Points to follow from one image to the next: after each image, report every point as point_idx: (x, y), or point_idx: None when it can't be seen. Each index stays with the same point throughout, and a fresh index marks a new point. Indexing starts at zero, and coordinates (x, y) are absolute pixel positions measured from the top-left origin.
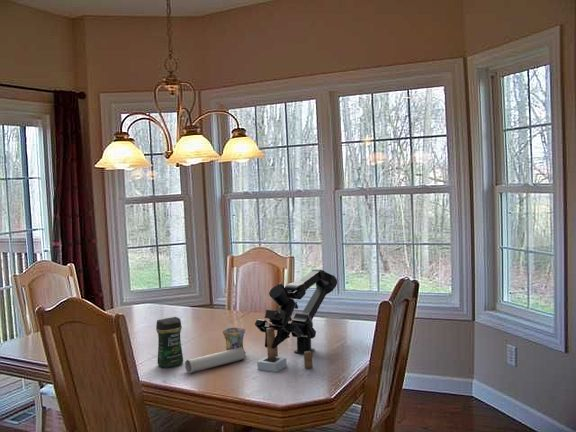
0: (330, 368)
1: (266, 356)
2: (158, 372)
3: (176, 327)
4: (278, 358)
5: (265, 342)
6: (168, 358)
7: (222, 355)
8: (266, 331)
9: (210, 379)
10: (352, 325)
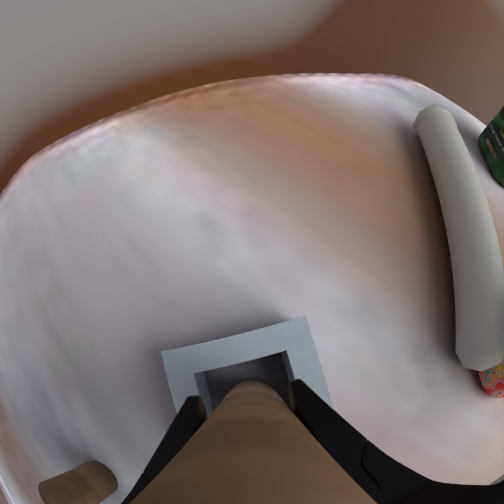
0: None
1: None
2: (457, 119)
3: None
4: None
5: (316, 404)
6: (489, 128)
7: (471, 222)
8: (418, 498)
9: (335, 129)
10: None
